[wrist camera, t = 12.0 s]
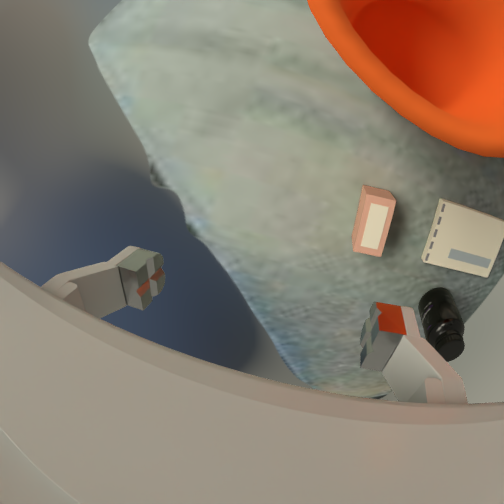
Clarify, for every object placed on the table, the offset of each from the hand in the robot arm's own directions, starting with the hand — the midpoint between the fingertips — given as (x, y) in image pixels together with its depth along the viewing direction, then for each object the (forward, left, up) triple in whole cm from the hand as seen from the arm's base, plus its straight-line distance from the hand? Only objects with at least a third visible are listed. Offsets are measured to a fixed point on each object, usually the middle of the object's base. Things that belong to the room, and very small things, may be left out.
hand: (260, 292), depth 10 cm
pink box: (-9, +6, -31) cm, 33 cm away
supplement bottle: (-25, +19, -31) cm, 44 cm away
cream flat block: (-26, +6, -31) cm, 41 cm away
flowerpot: (-11, -19, -31) cm, 38 cm away
